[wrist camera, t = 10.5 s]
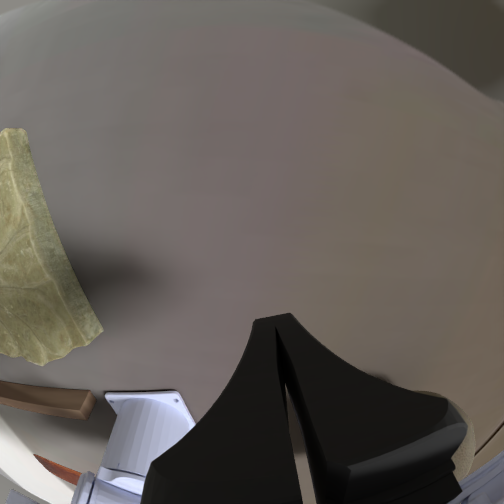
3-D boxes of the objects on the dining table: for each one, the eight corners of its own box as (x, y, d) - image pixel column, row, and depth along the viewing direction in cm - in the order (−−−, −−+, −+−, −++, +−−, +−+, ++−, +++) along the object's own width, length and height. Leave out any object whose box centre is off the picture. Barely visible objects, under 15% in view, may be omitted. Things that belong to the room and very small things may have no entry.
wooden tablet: (161, 491, 32) (160, 499, 31) (165, 507, 35) (164, 513, 33) (30, 446, 29) (27, 452, 28) (47, 469, 32) (45, 474, 31)
